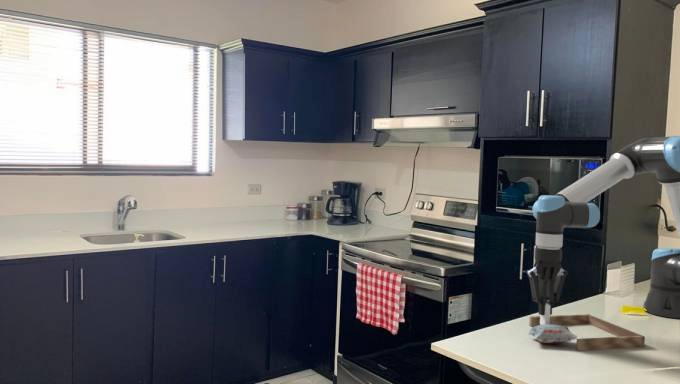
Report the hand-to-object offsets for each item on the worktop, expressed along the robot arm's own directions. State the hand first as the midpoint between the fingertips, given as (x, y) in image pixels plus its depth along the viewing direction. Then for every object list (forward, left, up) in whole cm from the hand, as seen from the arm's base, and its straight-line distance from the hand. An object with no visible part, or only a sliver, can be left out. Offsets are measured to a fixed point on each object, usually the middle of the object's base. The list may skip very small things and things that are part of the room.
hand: (544, 325), depth 165 cm
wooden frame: (-14, 0, -4) cm, 14 cm away
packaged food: (+5, +6, -5) cm, 9 cm away
